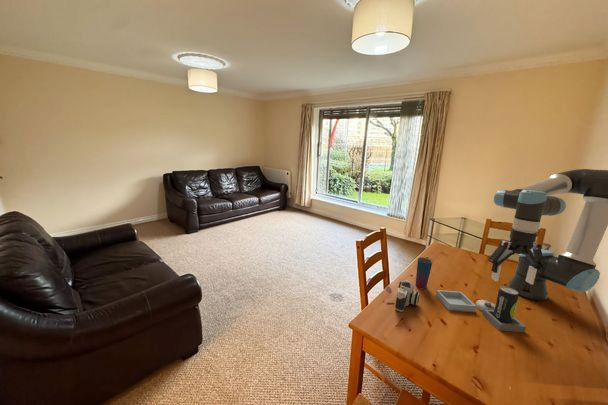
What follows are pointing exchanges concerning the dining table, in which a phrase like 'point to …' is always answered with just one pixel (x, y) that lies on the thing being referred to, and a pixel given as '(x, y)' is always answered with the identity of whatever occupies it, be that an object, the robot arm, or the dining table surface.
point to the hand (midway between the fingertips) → (511, 281)
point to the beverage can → (505, 305)
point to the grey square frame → (488, 314)
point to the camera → (406, 295)
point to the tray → (455, 301)
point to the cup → (423, 272)
